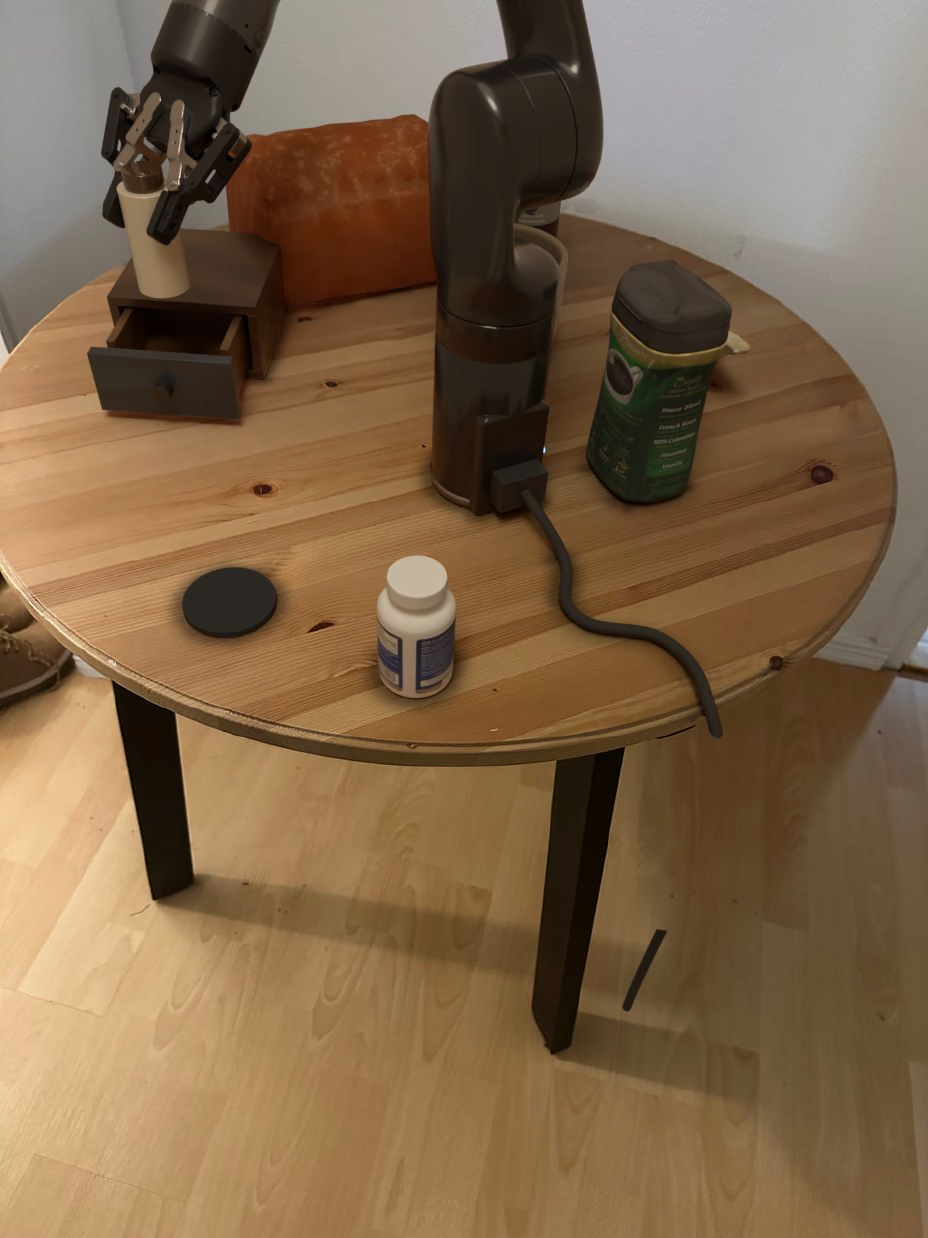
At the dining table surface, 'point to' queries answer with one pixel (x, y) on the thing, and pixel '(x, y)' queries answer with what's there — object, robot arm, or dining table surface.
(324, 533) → the dining table surface
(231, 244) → the cabinet
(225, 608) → the coaster
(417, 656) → the pill bottle
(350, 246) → the bread
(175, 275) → the cream bottle
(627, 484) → the coffee jar
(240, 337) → the drawer
